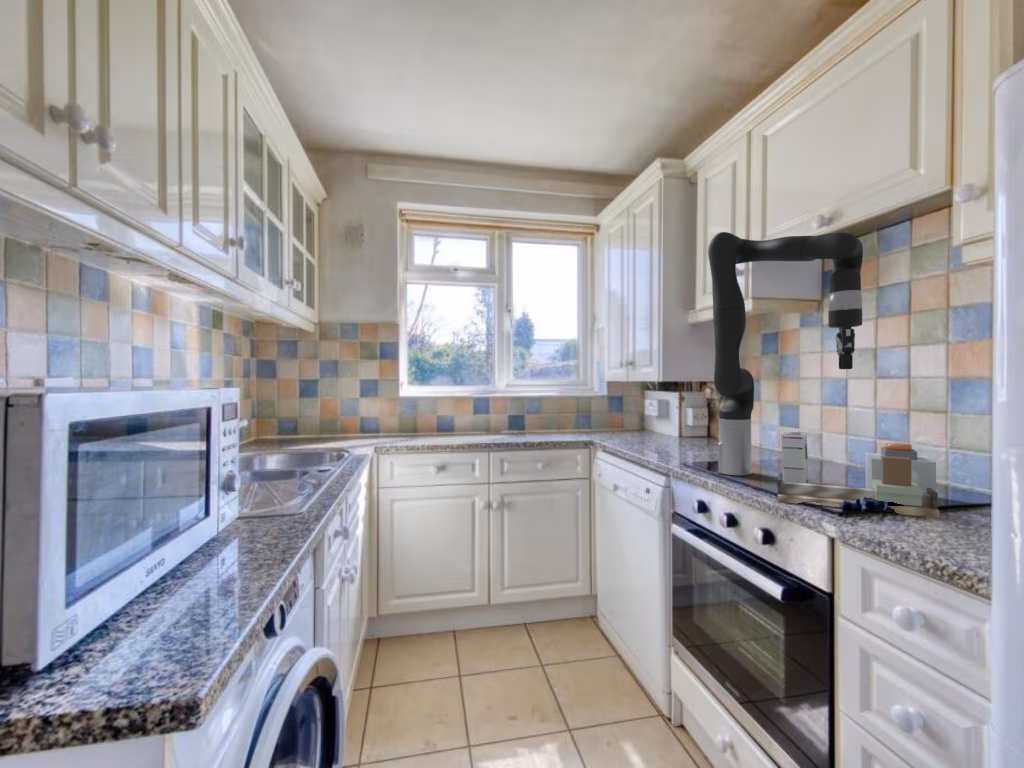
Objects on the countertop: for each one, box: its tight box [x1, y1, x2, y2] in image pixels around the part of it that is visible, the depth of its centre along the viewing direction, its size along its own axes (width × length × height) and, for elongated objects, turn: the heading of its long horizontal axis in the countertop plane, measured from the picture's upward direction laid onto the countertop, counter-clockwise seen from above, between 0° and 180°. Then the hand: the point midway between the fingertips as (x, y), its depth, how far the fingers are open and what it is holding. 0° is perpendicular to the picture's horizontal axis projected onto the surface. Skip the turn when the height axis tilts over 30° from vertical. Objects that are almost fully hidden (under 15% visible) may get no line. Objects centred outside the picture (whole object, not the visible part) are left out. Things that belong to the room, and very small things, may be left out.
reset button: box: [885, 442, 913, 451], centre depth 117 cm, size 5×5×3 cm
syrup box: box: [780, 431, 809, 484], centre depth 132 cm, size 6×6×14 cm
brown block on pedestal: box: [872, 456, 923, 506], centre depth 107 cm, size 8×7×10 cm
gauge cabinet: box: [864, 446, 937, 493], centre depth 117 cm, size 12×11×12 cm
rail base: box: [777, 475, 941, 519], centre depth 111 cm, size 30×8×5 cm, turn 60°
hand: (845, 369), depth 128 cm, fingers open, 8 cm apart
